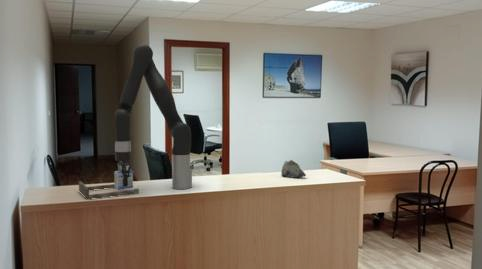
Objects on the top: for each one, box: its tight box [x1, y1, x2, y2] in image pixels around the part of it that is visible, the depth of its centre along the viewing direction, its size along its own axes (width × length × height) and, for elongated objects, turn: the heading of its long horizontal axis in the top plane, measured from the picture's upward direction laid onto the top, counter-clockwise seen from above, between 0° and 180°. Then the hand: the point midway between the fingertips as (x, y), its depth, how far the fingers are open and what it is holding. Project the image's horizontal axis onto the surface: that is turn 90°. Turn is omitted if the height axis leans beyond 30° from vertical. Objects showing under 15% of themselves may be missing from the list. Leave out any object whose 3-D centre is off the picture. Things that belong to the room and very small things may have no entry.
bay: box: [78, 181, 140, 200], centre depth 216 cm, size 24×19×5 cm
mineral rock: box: [281, 159, 307, 179], centre depth 253 cm, size 13×11×10 cm
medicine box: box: [113, 169, 134, 191], centre depth 217 cm, size 8×4×9 cm, turn 126°
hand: (123, 184), depth 217 cm, fingers closed on medicine box, 4 cm apart
